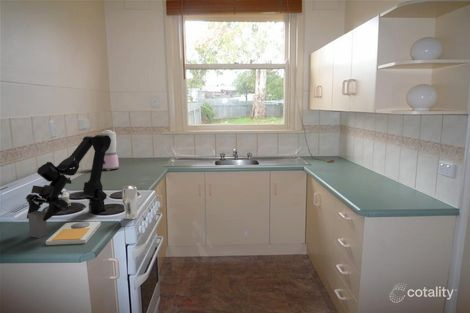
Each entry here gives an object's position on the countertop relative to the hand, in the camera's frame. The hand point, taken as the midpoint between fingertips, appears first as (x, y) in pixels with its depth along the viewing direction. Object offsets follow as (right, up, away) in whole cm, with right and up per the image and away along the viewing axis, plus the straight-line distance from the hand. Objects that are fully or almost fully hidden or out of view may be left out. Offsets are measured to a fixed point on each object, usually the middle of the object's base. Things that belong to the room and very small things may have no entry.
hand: (35, 219), depth 137 cm
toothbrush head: (-12, 0, +48) cm, 49 cm away
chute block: (0, -7, +2) cm, 7 cm away
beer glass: (+32, -3, +22) cm, 40 cm away
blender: (-20, +15, +134) cm, 137 cm away
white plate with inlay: (+15, -7, +3) cm, 17 cm away
